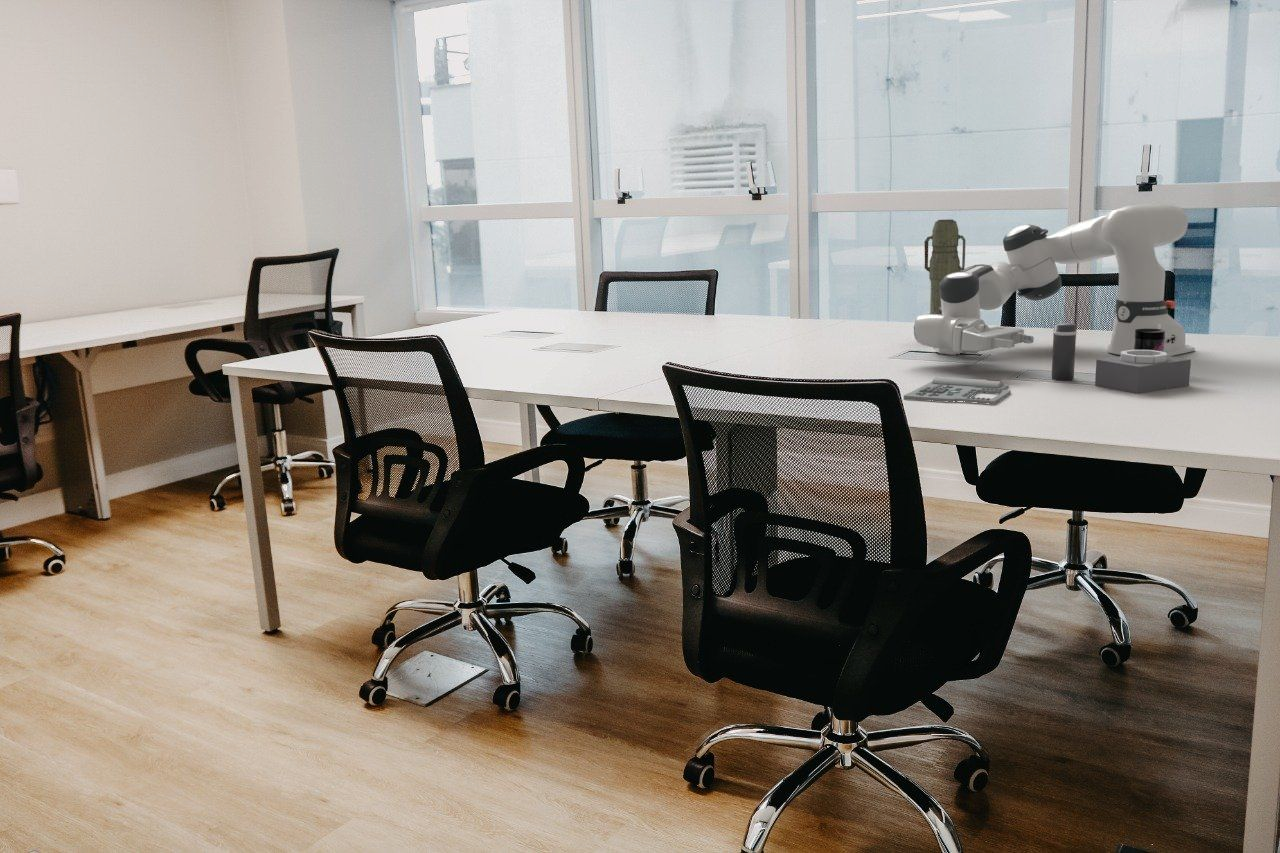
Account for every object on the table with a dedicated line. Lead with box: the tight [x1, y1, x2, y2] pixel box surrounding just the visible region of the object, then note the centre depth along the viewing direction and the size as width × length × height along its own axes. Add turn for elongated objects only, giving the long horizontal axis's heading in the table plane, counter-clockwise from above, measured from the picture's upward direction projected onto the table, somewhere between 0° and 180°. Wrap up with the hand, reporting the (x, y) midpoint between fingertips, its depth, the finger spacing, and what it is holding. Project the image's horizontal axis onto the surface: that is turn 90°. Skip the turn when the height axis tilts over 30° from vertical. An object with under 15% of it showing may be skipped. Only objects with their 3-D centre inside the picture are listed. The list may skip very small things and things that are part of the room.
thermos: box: [924, 219, 966, 314], centre depth 331 cm, size 9×12×35 cm
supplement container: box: [1134, 329, 1165, 352], centre depth 264 cm, size 7×7×10 cm
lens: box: [1051, 322, 1078, 381], centre depth 261 cm, size 5×5×13 cm
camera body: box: [1094, 350, 1192, 394], centre depth 250 cm, size 16×12×8 cm
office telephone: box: [903, 376, 1012, 405], centre depth 251 cm, size 23×3×20 cm
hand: (1022, 342), depth 268 cm, fingers open, 8 cm apart
